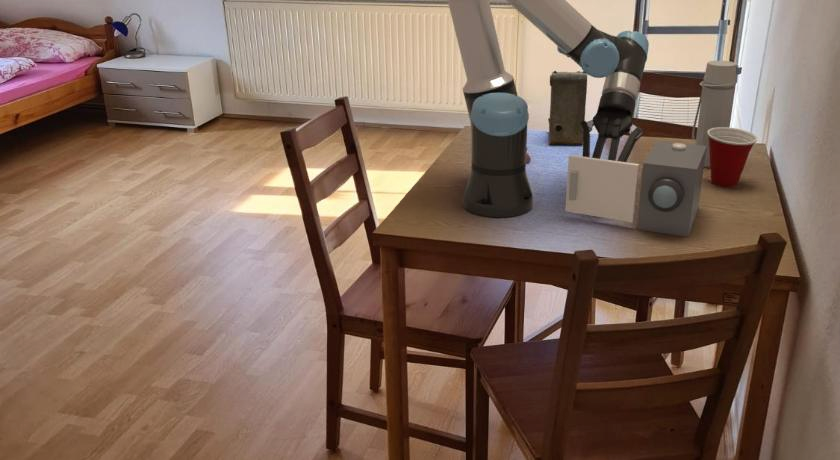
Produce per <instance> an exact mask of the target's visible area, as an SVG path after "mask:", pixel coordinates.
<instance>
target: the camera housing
mask: <svg viewBox="0 0 840 460" xmlns="http://www.w3.org/2000/svg"><path fill="white" fill-rule="evenodd" d="M706 148H707V146H702V145H695V144H692V143H691V144H690V143H683V142H682V143H681V142H673V141H672V142H671V141H662V140H656V142H655V144H654V145H653V146H652V148H651V150H650V152H649V153H648V154H647V156H646V158H645V160H644V161H643V164H642V168H641V173H640V174H641V175H640V185H639V192H638V193H639V194H638V204H637V205H638V206H637V213H636V216H637V219H636V220H637V222H636V230H641V231H647V232H655V233H660V234H668V235H674V236H682V237H687V238H688V237H689V236H690V233H691V230H692V228H693V225H694V222H695V219H696V217H697V214H698V211H699V205H700V198H701V192H702V191H701V190H702V185H703V184H702V183H703V175H704V170H705V169H704V168H705V167H704V162H705V155H706Z"/></svg>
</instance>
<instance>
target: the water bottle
mask: <svg viewBox="0 0 840 460" xmlns="http://www.w3.org/2000/svg"><path fill="white" fill-rule="evenodd" d="M737 65H738V64H737V63H736V62H734V61H730V60H729V61H728V60H710V61H707V64H706V67H705V71H704V76H703V80H702V81H701V82H700V83H699V85H700V86H701V92H700V96H699V101H698V105H697V109H696V113H695V118H694V120H693V121H694V122H693V126H692V129H691V131H692V133H691V141H693V142H695V144H694V145H702V146H707V148H706V155H705V162H704V168H706V169H710V146H709V137H708V135H707V132H708V130H709V129H711V128H717V127H729V128H730V122H731V116H732V115H731V114H732V108H733V102H734V96H735V95H734V94H735V89H736V88H735V87H734V86H736V84H737ZM696 125H697V129H696ZM695 131H696V138H695Z"/></svg>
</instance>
